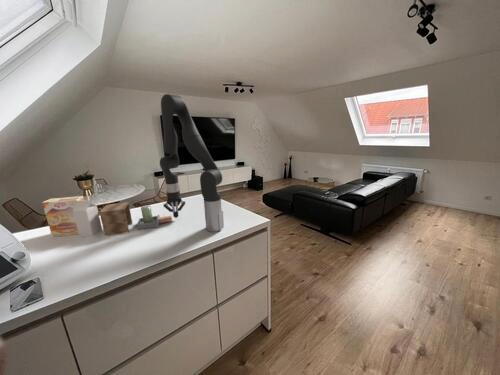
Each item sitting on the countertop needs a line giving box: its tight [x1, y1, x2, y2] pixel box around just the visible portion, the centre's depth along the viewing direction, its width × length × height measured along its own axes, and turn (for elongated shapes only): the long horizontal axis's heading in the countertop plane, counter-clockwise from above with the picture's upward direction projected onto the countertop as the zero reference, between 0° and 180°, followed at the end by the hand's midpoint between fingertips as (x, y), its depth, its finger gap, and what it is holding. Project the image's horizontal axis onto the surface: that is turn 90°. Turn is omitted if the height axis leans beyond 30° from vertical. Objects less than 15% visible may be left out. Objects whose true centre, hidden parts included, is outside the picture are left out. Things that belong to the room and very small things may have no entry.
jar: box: [140, 204, 154, 223], centre depth 116 cm, size 5×5×10 cm
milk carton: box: [73, 200, 103, 238], centre depth 105 cm, size 7×7×19 cm
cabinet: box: [99, 201, 133, 237], centre depth 111 cm, size 11×12×14 cm
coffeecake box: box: [41, 195, 85, 238], centre depth 108 cm, size 15×7×20 cm, turn 105°
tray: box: [136, 214, 173, 230], centre depth 119 cm, size 18×12×3 cm, turn 111°
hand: (176, 217), depth 123 cm, fingers closed
